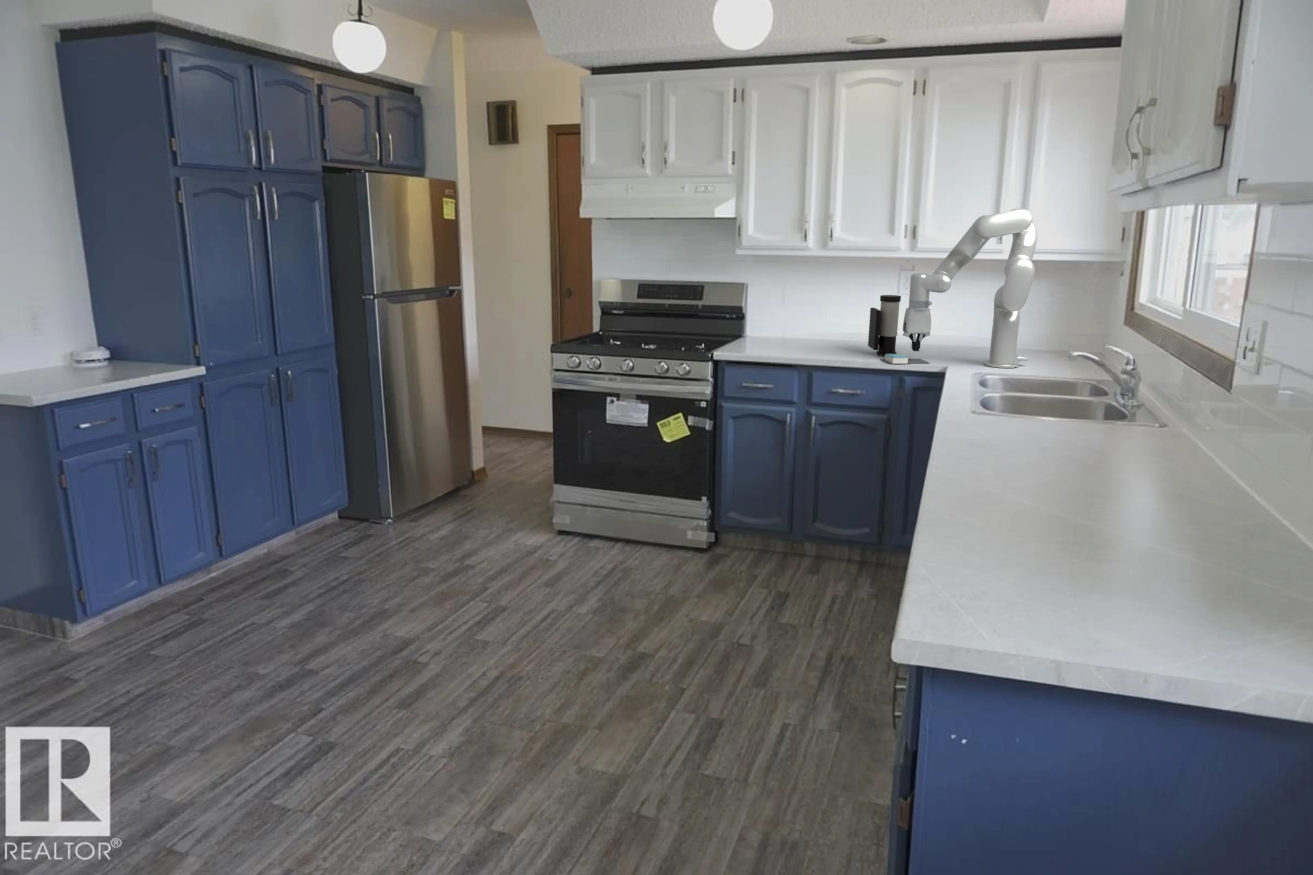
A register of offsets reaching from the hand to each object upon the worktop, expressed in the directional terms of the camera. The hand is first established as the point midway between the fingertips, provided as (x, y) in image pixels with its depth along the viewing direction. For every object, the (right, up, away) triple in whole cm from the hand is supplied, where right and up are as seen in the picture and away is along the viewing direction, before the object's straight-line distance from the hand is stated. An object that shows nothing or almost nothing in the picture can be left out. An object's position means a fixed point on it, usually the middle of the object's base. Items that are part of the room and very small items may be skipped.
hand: (915, 350), depth 350 cm
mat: (-4, -4, +3) cm, 6 cm away
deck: (-5, -3, 0) cm, 6 cm away
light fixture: (-7, 0, +21) cm, 22 cm away
